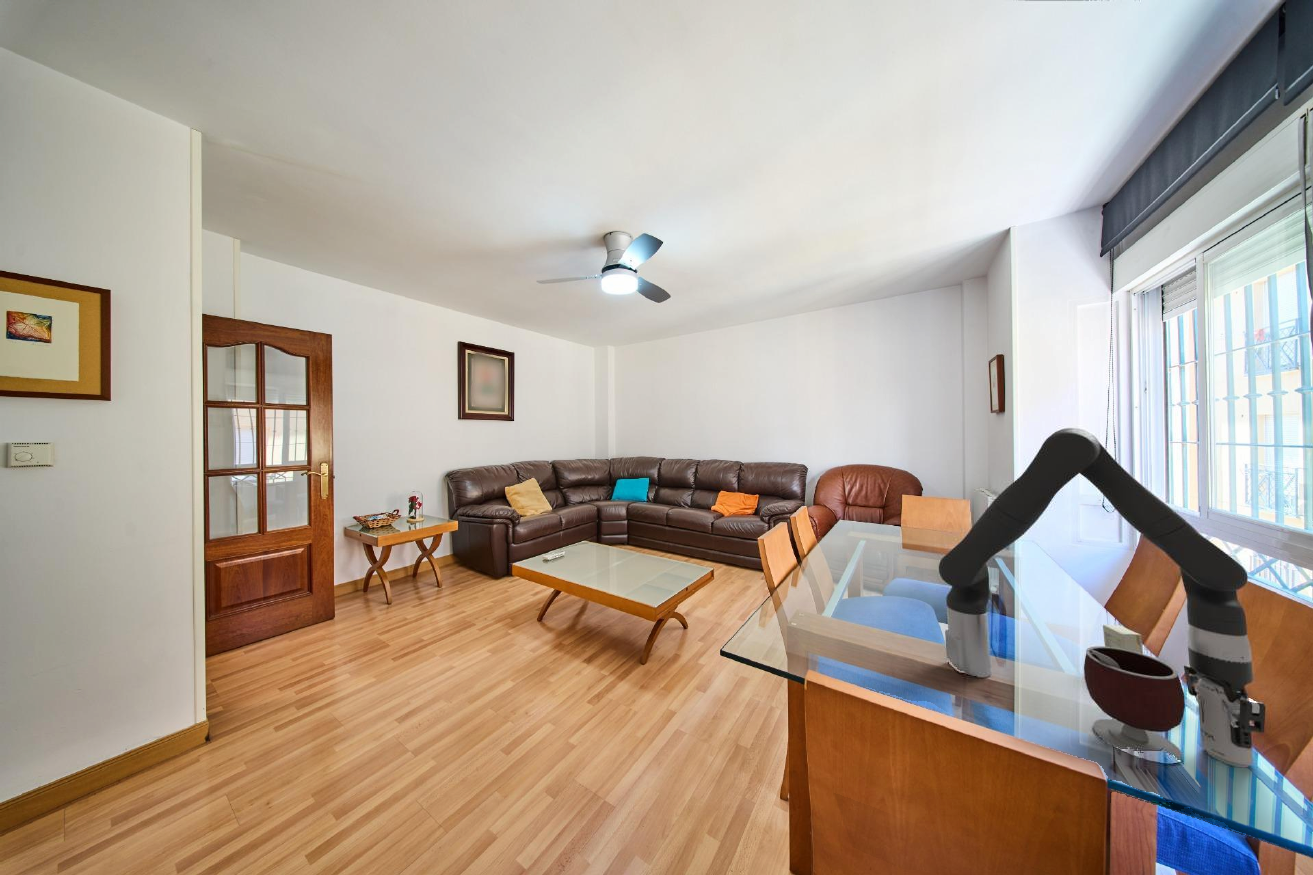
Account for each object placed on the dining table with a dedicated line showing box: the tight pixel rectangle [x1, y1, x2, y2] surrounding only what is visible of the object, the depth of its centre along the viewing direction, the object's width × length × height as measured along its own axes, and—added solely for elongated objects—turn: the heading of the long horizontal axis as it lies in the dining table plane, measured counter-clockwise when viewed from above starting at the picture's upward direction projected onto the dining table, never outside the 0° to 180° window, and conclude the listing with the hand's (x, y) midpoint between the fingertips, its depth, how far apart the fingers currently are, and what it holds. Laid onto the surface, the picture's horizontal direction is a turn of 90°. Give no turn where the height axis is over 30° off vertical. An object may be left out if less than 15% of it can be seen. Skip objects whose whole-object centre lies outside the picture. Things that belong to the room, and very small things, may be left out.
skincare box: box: [1102, 624, 1144, 654], centre depth 109 cm, size 6×4×12 cm
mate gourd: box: [1083, 645, 1186, 761], centre depth 86 cm, size 16×14×20 cm
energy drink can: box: [1196, 676, 1254, 768], centre depth 81 cm, size 6×6×15 cm
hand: (1225, 734), depth 81 cm, fingers closed on energy drink can, 6 cm apart
